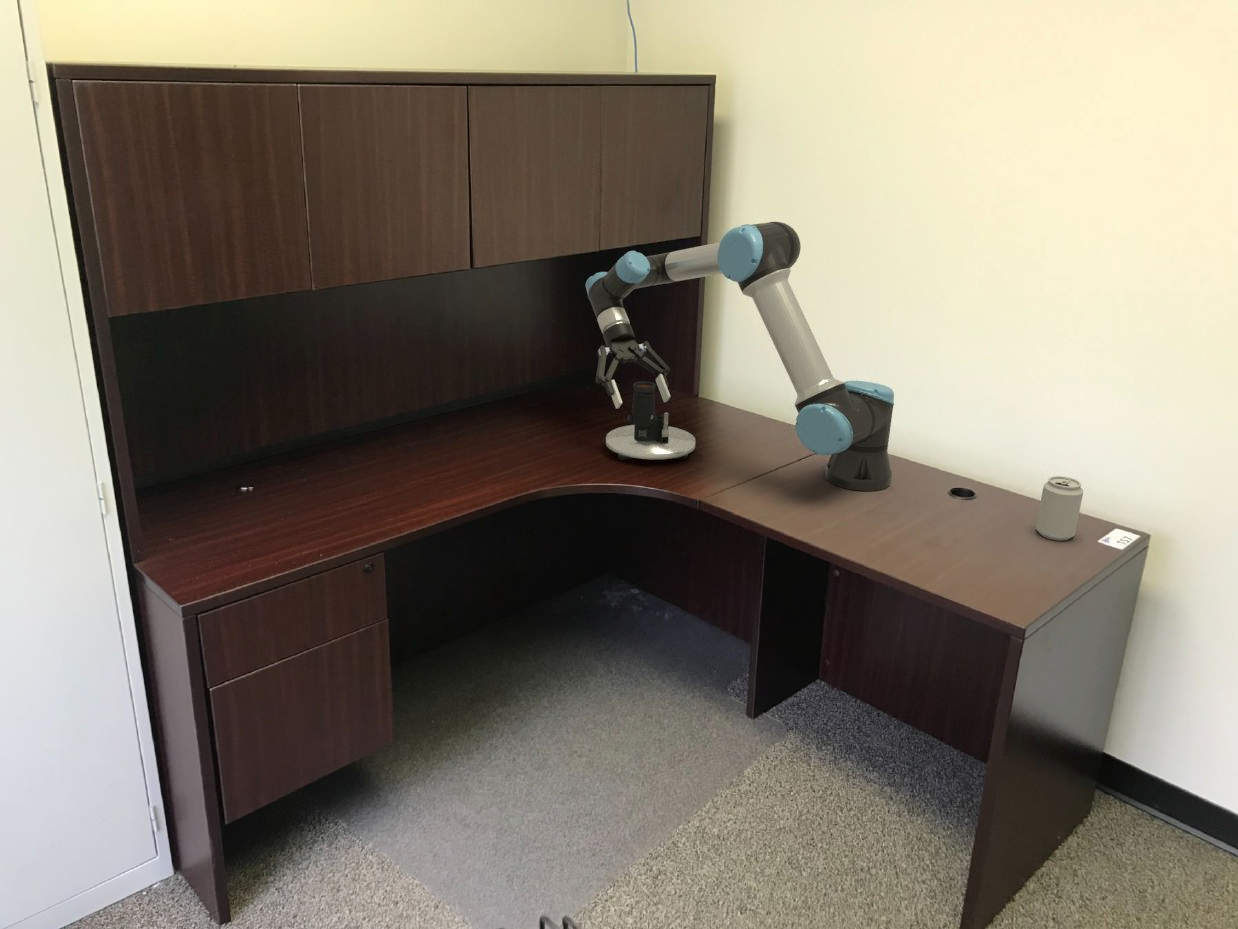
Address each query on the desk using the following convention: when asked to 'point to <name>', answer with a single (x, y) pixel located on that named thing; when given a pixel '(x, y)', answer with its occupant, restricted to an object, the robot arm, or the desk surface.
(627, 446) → the base
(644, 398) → the scope
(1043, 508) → the can
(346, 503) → the desk surface
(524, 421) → the desk surface
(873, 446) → the robot arm
